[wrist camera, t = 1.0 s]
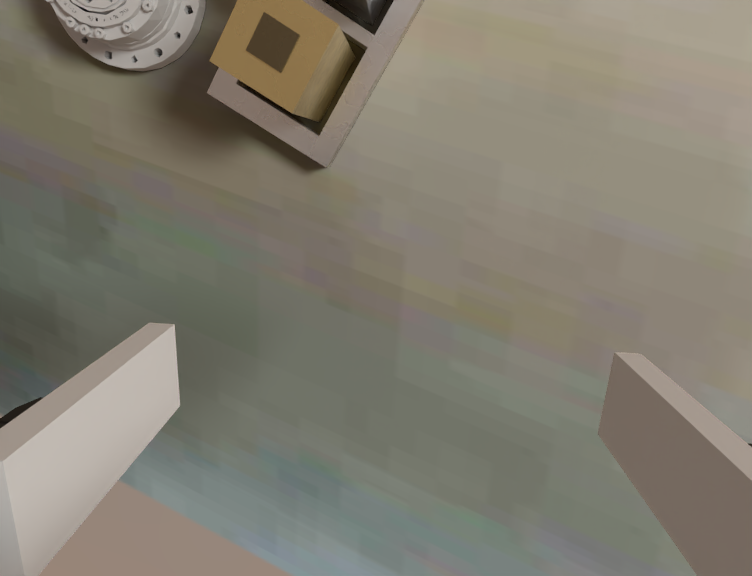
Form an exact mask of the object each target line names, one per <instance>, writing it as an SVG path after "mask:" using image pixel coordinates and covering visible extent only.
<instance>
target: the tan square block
mask: <svg viewBox="0 0 752 576" xmlns="http://www.w3.org/2000/svg"><path fill="white" fill-rule="evenodd" d="M354 59H355V56H354V54H353V52H352V50H351V48H350V46H349V44H348V42H347V40H346V38H345V36H344V34H343V32H342V30H341V28H340V26H339V24H337V23H336V22H334V21H333V20H331V19H330V18H328V17H327V16H325V15H324V14H322V13H321V12H319V11H318V10H316V9H315V8H313V7H312V6H310V5H309V4H307V3H306V2H304V1H303V0H237V2H236V4H235V6H234V9H233V11H232V13H231V15H230V17H229V19H228V22H227V24H226V26H225V28H224V30H223V32H222V35H221V37H220V39H219V41H218V43H217V45H216V48H215V50H214V52H213V54H212V56H211V58H210V62H212V63H213V64H215V65H216V66H218V67H219V68H221V69H223V70H224V71H226V72H227V73H229V74H231V75H232V76H234V77H235V78H237V79H238V80H240V81H242V82H243V83H245V84H246V85H248V86H249V87H251V88H253V89H254V90H256V91H257V92H259V93H260V94H262V95H264V96H265V97H267V98H268V99H270V100H272V101H273V102H275V103H276V104H278V105H279V106H281V107H283V108H284V109H286V110H287V111H289V112H290V113H292V114H295V115H298V116H301V117H305V118H308V119H311V120H314V121H317V122H321V120H322V118H323V116H324V114H325V113H326V111H327V109H328V107H329V105H330V103H331V102H332V100H333V98H334V96H335V94H336V92H337V91H338V89H339V87H340V85H341V83H342V81H343V80H344V78H345V76H346V74H347V72H348V70H349V69H350V67H351V65H352V63H353V61H354Z"/></svg>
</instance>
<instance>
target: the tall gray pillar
mask: <svg viewBox="0 0 752 576" xmlns="http://www.w3.org/2000/svg"><path fill="white" fill-rule="evenodd" d="M334 1H336V2H337V3H339V4H340V5H342V6H343V7H345V8H346V9H348V10H349V11H351V12H352V13H354V14H355V15H357V16H358V17H360V18H361V19H363V20H364V21H366V22H367V23H369V24H370V25H372V26H373V25H374V23H375V21H376V19H377V17H378V15H379V14H380V12H381V10H382V8H383V6H384V4H385V3H386V1H387V0H334Z"/></svg>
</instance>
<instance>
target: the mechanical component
mask: <svg viewBox="0 0 752 576" xmlns="http://www.w3.org/2000/svg"><path fill="white" fill-rule="evenodd" d="M46 1H47V2H49V3H50V4H51V6H52V7H53V9H54V11H55V13H56V15H57V17H58V20H59V21H60V23H61V24H62V26H63V27H64V29H65V30H66V32H67V33H68V35H69V36H70V37H71V38H72V39H73V40H74V41H75V42H76V44H77V45H78V46H79V47H80V48H82V49H83V50H84V51H86V52H87V53H88V54H90V55H91V56H92V57H94V58H96V59H98V60H100V61H102V62H104V63H106V64H108V65H112V66H115V67H119V68H123V69H126V70H132V71H148V70H154V69H159V68H162V67H164V66H166V65H168V64H170V63H171V62H173V61H175V60H177V59H178V58H180V57H181V56H182V55H183V54H184V53H185V52H186V51H187V50H188V49H189V47H190V46H191V44H192V42H193V41H194V39H195V38H196V36H197V34H198V33H199V31H200V27H201V23H202V20H203V16H204V12H205V9H206V0H46ZM192 10H193V13H192ZM162 54H163V55H162Z"/></svg>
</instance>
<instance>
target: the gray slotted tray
mask: <svg viewBox="0 0 752 576" xmlns="http://www.w3.org/2000/svg"><path fill="white" fill-rule="evenodd" d="M303 1H304V2H306V3H307V4H309V5H310V6H312V7H313V8H315V9H316V10H318V11H319V12H321V13H322V14H324V15H325V16H327V17H328V18H330V19H331V20H333V21H334V22H336V23H337V24H339V26H340V28H341V30H342V32H343V34H344V36H345V37H346V38H347V39H349V40H350V41H352V42H353V43H355V44H356V45H358V46H359V47H361V48H362V49H364V50H365V51H366V52H365V54H364V55H363V57H362V59H361V61H360V63H359V65H358V66H357V68H356V70H355V72H354V74H353V75H352V77H351V79H350V81H349V83H348V85H347V86H346V88H345V90H344V92H343V94H342V95H341V97H340V99H339V101H338V103H337V105H336V106H335V108H334V110H333V112H332V114H331V115H330V117H329V119H328V121H327V123H326V125H325V126H324V128H323V130H322V132H321V134H318V133H317V132H315V131H314V130H312V129H310V128H309V127H307V126H306V125H304V124H302V123H301V122H299V121H298V120H296V119H295V118H293V117H291V116H290V115H288V114H287V113H285V112H284V111H282V110H280V109H279V108H277V107H276V106H274V105H272V104H271V103H269V102H268V101H266V100H265V99H263V98H261V97H260V96H258V95H257V94H255V93H254V92H252V91H250V90H249V89H247V88H246V86H247V85H246V84H245V83H243V82H242V81H240V80H238V79H237V78H235V77H234V76H232V75H231V74H229V73H227V72H226V71H224V70H223V69H221V68H218V70H217V72H216V74H215V76H214V78H213V81H212V83H211V85H210V87H209V89H208V91H207V93H208V94H209V95H211V96H212V97H214V98H216V99H217V100H219V101H220V102H222V103H224V104H225V105H227V106H228V107H230V108H232V109H233V110H235V111H236V112H238V113H240V114H241V115H243V116H244V117H246V118H248V119H249V120H251V121H252V122H254V123H255V124H257V125H259V126H260V127H262V128H263V129H265V130H267V131H268V132H270V133H271V134H273V135H275V136H276V137H278V138H279V139H281V140H283V141H284V142H286V143H287V144H289V145H291V146H292V147H294V148H295V149H297V150H299V151H300V152H302V153H303V154H305V155H307V156H308V157H310V158H311V159H313V160H315V161H316V162H318V163H319V164H321V165H323V166H324V167H326V168H327V167H330V166H331V165H332V163H333V161H334V159H335V158H336V156H337V154H338V152H339V150H340V149H341V147H342V145H343V143H344V142H345V140H346V138H347V136H348V135H349V133H350V131H351V129H352V128H353V126H354V124H355V122H356V120H357V119H358V117H359V115H360V113H361V112H362V110H363V108H364V106H365V105H366V103H367V101H368V99H369V98H370V96H371V94H372V92H373V91H374V89H375V87H376V85H377V83H378V82H379V80H380V78H381V76H382V75H383V73H384V71H385V69H386V68H387V66H388V64H389V62H390V61H391V59H392V57H393V55H394V53H395V52H396V50H397V48H398V46H399V45H400V43H401V41H402V39H403V38H404V36H405V34H406V32H407V31H408V29H409V27H410V25H411V23H412V22H413V20H414V18H415V16H416V15H417V13H418V11H419V9H420V8H421V6H422V4H423V2H424V1H425V0H394V1H393V3H392V5H391V6H390V8H389V10H388V12H387V14H386V15H385V17H384V19H383V21H382V23H381V25H380V26H379V28H378V30H377V32H376V34H375V35H373V34H372V33H370V32H369V31H367V30H366V29H364V28H363V27H361V26H360V25H358V24H357V23H355V22H354V21H352V20H351V19H349V18H348V17H346V16H345V15H343V14H342V13H340V12H339V11H337V10H336V9H334V8H333V7H331V6H330V5H328V4H327V3H325V2H324V1H322V0H303Z"/></svg>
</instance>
